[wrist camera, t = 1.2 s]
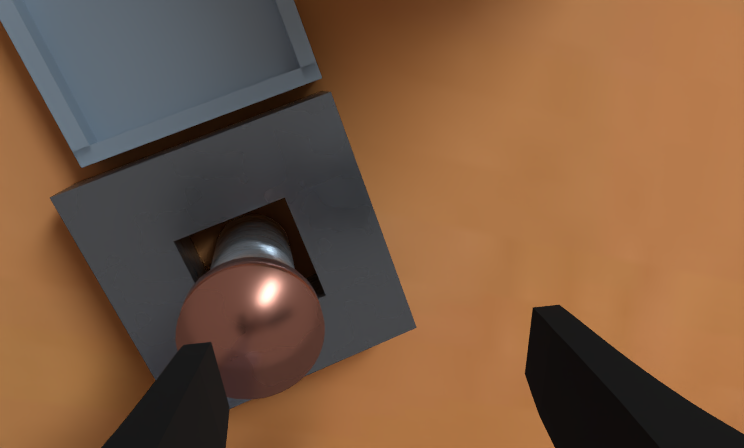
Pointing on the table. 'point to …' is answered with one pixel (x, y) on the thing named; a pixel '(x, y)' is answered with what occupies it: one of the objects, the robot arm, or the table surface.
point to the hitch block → (228, 200)
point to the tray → (154, 63)
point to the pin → (254, 311)
